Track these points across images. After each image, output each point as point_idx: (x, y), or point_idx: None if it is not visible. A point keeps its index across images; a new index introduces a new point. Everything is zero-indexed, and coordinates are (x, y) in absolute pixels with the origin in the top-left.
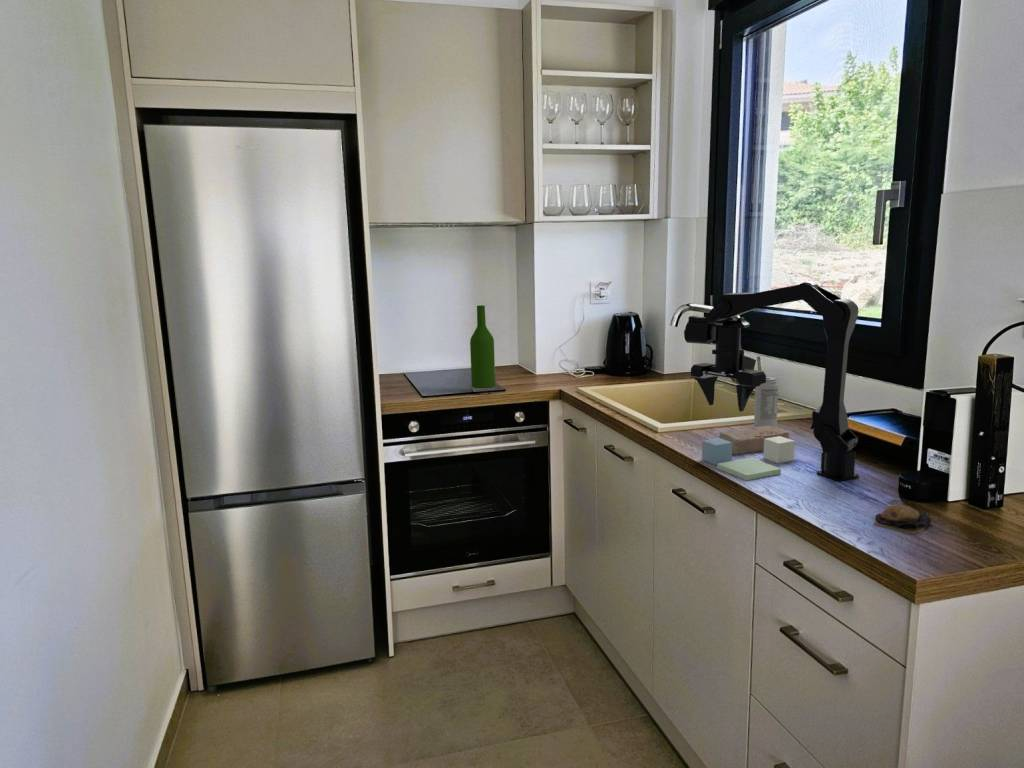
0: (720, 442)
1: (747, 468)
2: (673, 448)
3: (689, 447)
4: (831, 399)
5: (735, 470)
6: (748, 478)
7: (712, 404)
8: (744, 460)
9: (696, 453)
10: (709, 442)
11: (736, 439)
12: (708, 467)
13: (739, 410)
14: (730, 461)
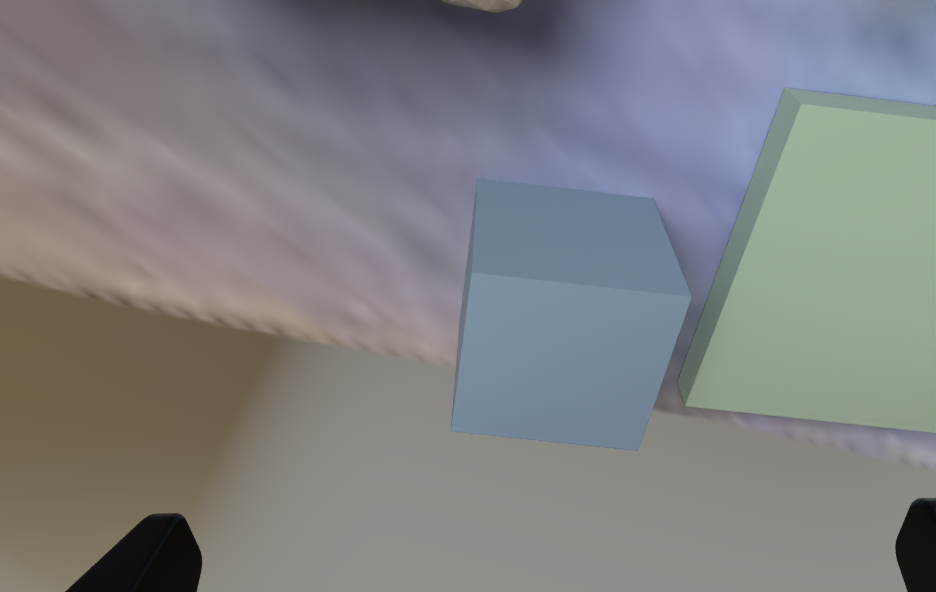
0: (607, 372)
1: (927, 341)
2: (101, 287)
3: (118, 170)
4: None
5: (872, 420)
6: None
7: (184, 532)
8: (802, 210)
9: (305, 247)
10: (539, 432)
11: (512, 3)
12: None
13: (909, 573)
14: (727, 312)
